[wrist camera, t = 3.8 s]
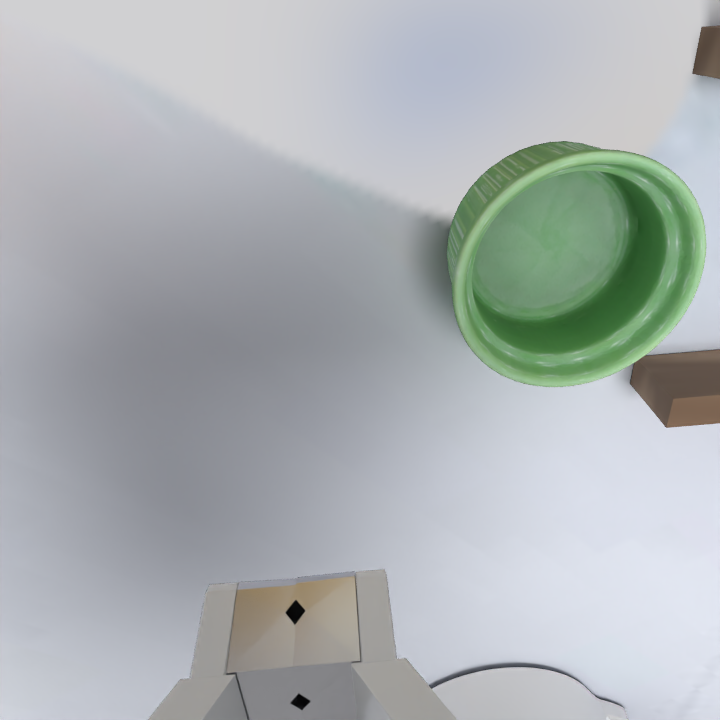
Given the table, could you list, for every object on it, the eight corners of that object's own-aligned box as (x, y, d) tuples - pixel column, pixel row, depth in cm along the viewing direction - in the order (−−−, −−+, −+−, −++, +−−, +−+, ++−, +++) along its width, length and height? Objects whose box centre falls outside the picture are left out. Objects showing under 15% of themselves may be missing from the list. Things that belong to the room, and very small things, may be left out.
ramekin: (388, 245, 25) (401, 288, 21) (565, 71, 22) (617, 85, 18) (521, 370, 28) (552, 427, 25) (689, 235, 26) (753, 275, 22)
